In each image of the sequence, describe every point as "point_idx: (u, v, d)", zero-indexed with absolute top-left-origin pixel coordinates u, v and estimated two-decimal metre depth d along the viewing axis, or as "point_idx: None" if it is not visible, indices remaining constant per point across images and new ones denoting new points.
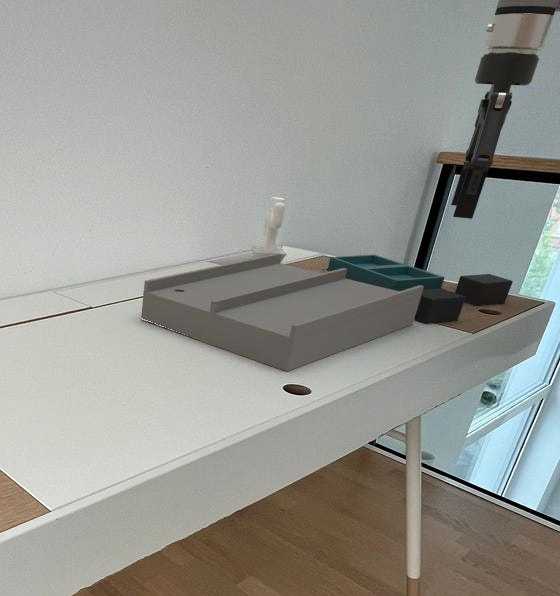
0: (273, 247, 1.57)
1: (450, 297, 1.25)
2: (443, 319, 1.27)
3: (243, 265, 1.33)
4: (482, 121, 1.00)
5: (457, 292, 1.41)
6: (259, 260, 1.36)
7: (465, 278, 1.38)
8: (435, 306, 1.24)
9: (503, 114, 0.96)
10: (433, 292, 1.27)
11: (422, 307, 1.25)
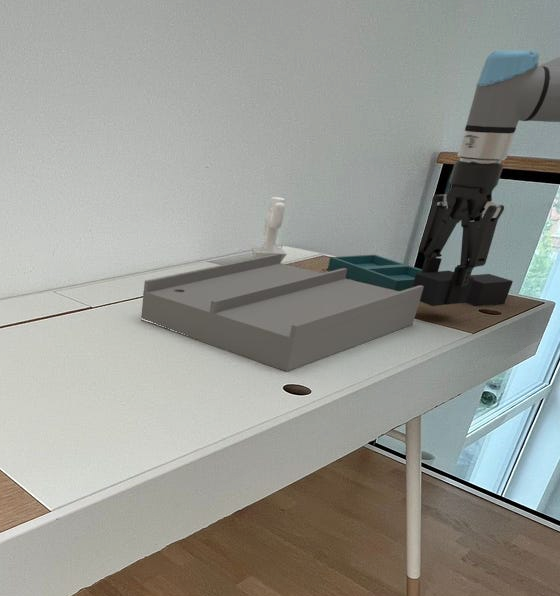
0: (273, 247, 1.57)
1: None
2: None
3: (243, 265, 1.33)
4: (469, 223, 1.17)
5: None
6: (259, 260, 1.36)
7: None
8: (442, 288, 1.22)
9: (495, 223, 1.15)
10: (440, 274, 1.26)
11: (430, 289, 1.24)
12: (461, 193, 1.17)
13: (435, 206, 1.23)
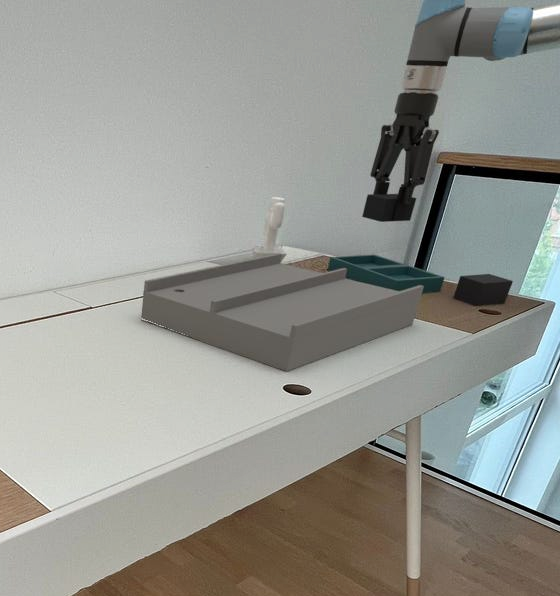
0: (273, 247, 1.57)
1: None
2: None
3: (243, 265, 1.33)
4: (410, 147, 1.37)
5: (457, 292, 1.41)
6: (259, 260, 1.36)
7: (465, 278, 1.38)
8: (389, 205, 1.42)
9: (432, 146, 1.34)
10: (388, 195, 1.45)
11: (378, 206, 1.43)
12: (404, 121, 1.37)
13: (383, 135, 1.42)
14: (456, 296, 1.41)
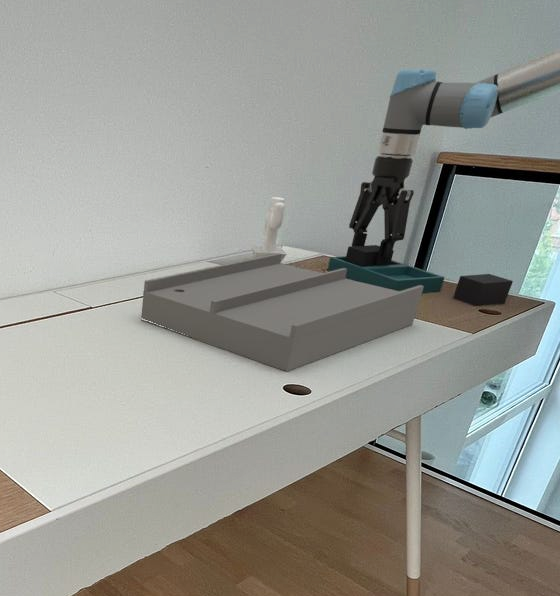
0: (273, 247, 1.57)
1: None
2: None
3: (243, 265, 1.33)
4: (388, 205, 1.46)
5: (457, 292, 1.41)
6: (259, 260, 1.36)
7: (465, 278, 1.38)
8: (368, 258, 1.51)
9: (408, 205, 1.43)
10: (368, 247, 1.55)
11: (358, 258, 1.53)
12: (381, 183, 1.47)
13: (362, 191, 1.52)
14: (456, 296, 1.41)
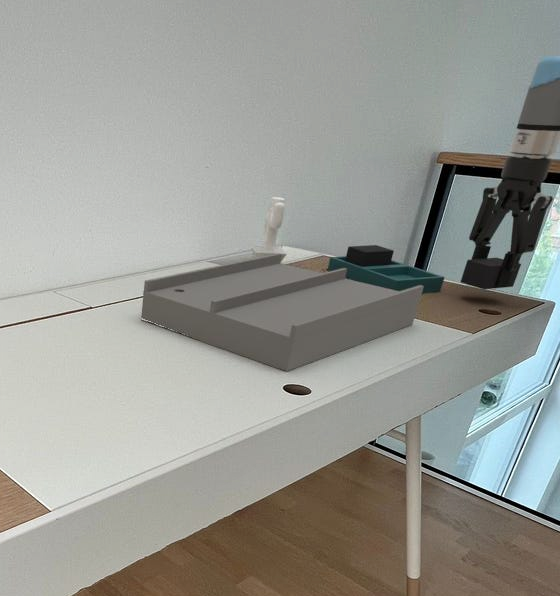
0: (273, 247, 1.57)
1: (381, 250, 1.52)
2: None
3: (243, 265, 1.33)
4: (519, 213, 1.28)
5: (464, 276, 1.39)
6: (259, 260, 1.36)
7: (472, 262, 1.36)
8: (368, 258, 1.51)
9: (544, 213, 1.26)
10: (368, 247, 1.55)
11: (358, 258, 1.53)
12: (512, 186, 1.29)
13: (486, 198, 1.34)
14: (463, 280, 1.39)
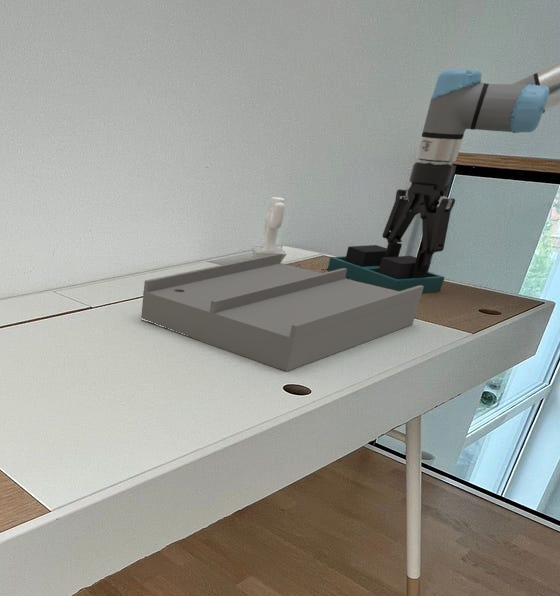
0: (273, 247, 1.57)
1: (381, 250, 1.52)
2: None
3: (243, 265, 1.33)
4: (426, 214, 1.37)
5: None
6: (259, 260, 1.36)
7: (386, 259, 1.45)
8: (368, 258, 1.51)
9: (449, 214, 1.35)
10: (368, 247, 1.55)
11: (358, 258, 1.53)
12: (419, 191, 1.38)
13: (398, 199, 1.43)
14: None
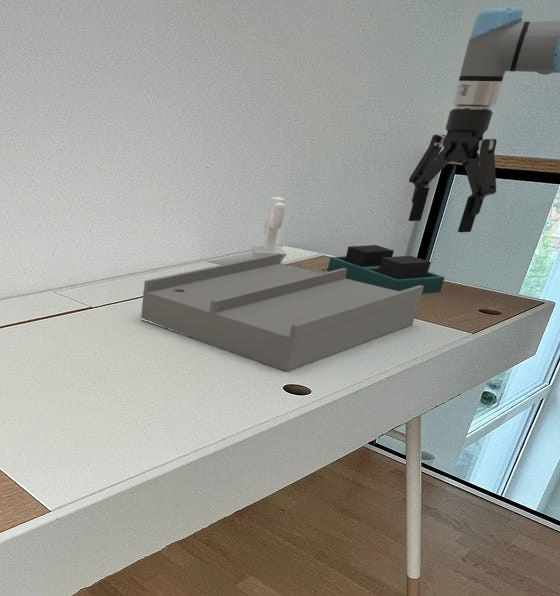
0: (273, 247, 1.57)
1: (381, 250, 1.52)
2: None
3: (243, 265, 1.33)
4: (468, 160, 1.31)
5: None
6: (259, 260, 1.36)
7: (386, 259, 1.45)
8: (368, 258, 1.51)
9: (493, 155, 1.29)
10: (368, 247, 1.55)
11: (358, 258, 1.53)
12: (455, 143, 1.34)
13: (432, 145, 1.38)
14: None
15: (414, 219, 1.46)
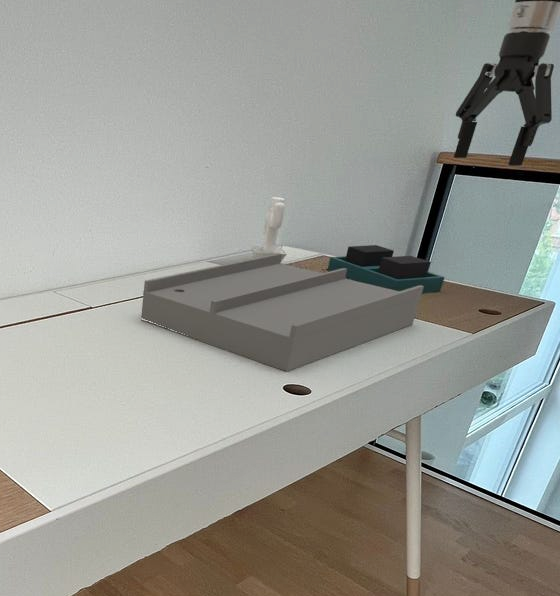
0: (273, 247, 1.57)
1: (381, 250, 1.52)
2: None
3: (243, 265, 1.33)
4: (523, 87, 1.26)
5: None
6: (259, 260, 1.36)
7: (386, 259, 1.45)
8: (368, 258, 1.51)
9: (549, 81, 1.23)
10: (368, 247, 1.55)
11: (358, 258, 1.53)
12: (508, 71, 1.28)
13: (483, 75, 1.32)
14: None
15: (460, 156, 1.41)
